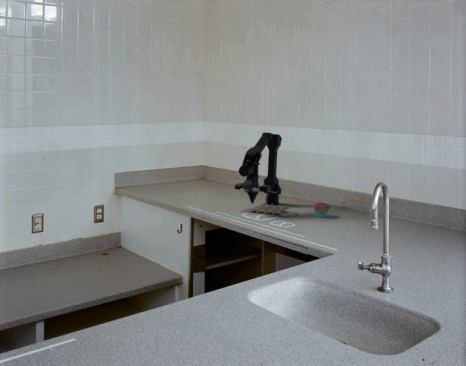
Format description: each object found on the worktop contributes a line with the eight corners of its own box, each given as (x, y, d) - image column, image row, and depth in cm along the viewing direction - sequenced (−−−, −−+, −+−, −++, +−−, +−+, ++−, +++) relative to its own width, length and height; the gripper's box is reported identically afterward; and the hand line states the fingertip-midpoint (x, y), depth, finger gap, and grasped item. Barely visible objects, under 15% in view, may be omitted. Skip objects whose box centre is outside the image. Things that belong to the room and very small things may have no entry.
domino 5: (278, 212, 284) (293, 213, 281) (282, 210, 289) (297, 212, 285) (278, 215, 284) (293, 217, 281) (282, 213, 289) (297, 215, 285)
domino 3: (263, 210, 288) (276, 206, 284) (267, 209, 292) (280, 204, 289) (264, 213, 288) (277, 209, 284) (268, 211, 292) (281, 207, 289)
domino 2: (255, 210, 290) (269, 205, 286) (259, 208, 294) (272, 204, 291) (256, 212, 290) (270, 208, 286) (260, 211, 294) (273, 206, 291)
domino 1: (248, 209, 292) (261, 204, 288) (252, 207, 296) (265, 203, 292) (249, 212, 292) (262, 207, 288) (253, 210, 296) (266, 205, 292)
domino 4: (271, 211, 286) (284, 207, 282) (274, 209, 290) (288, 205, 287) (272, 214, 286) (285, 210, 282) (275, 212, 290) (289, 208, 287)
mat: (238, 212, 292) (238, 211, 292) (246, 209, 300) (246, 208, 300) (283, 217, 281) (283, 216, 281) (289, 214, 289) (289, 213, 289)
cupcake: (319, 218, 279) (320, 195, 277) (309, 215, 287) (310, 192, 285) (332, 217, 283) (333, 194, 281) (322, 213, 290) (323, 191, 289)
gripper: (230, 174, 287) (229, 204, 290) (263, 177, 279) (262, 208, 282) (239, 172, 297) (239, 200, 300) (271, 174, 289) (271, 204, 292)
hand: (252, 203), depth 293 cm, fingers closed
